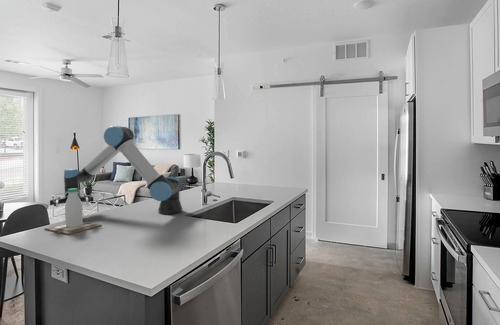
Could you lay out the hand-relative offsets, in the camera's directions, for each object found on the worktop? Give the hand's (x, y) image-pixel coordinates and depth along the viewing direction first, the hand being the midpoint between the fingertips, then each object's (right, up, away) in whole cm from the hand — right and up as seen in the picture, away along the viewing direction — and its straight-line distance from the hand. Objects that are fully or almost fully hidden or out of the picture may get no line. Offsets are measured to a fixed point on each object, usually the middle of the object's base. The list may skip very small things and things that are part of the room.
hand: (72, 203), depth 153 cm
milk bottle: (-1, -13, +3) cm, 13 cm away
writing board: (-1, -13, +2) cm, 14 cm away
